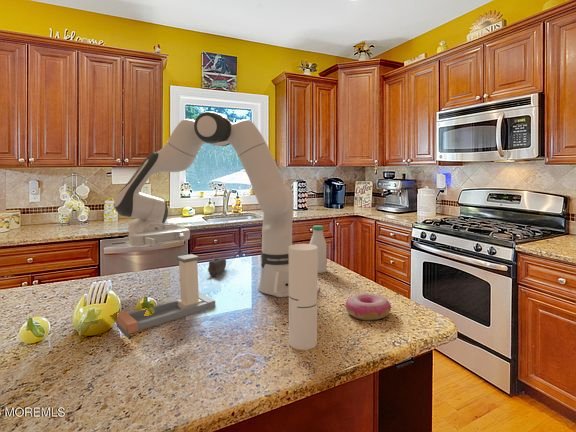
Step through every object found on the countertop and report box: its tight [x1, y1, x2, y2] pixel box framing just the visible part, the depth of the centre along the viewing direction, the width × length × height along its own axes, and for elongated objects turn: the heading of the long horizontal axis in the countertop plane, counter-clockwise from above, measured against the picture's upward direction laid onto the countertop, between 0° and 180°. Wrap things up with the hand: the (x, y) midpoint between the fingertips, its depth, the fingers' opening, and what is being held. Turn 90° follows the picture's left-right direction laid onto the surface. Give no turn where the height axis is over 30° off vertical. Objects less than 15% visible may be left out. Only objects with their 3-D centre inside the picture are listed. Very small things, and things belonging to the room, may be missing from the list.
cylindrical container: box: [288, 243, 318, 351], centre depth 85 cm, size 7×7×25 cm
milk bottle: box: [309, 224, 328, 274], centre depth 148 cm, size 8×8×20 cm
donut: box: [345, 292, 392, 321], centre depth 104 cm, size 14×13×5 cm
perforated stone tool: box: [207, 256, 227, 277], centre depth 146 cm, size 15×5×7 cm, turn 168°
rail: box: [115, 292, 216, 340], centre depth 101 cm, size 26×10×4 cm, turn 133°
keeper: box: [176, 253, 202, 309], centre depth 105 cm, size 6×6×16 cm
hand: (169, 240), depth 112 cm, fingers open, 8 cm apart
